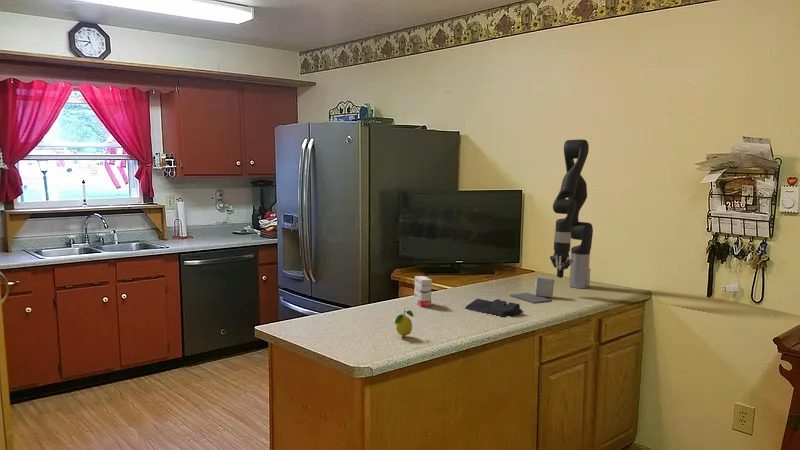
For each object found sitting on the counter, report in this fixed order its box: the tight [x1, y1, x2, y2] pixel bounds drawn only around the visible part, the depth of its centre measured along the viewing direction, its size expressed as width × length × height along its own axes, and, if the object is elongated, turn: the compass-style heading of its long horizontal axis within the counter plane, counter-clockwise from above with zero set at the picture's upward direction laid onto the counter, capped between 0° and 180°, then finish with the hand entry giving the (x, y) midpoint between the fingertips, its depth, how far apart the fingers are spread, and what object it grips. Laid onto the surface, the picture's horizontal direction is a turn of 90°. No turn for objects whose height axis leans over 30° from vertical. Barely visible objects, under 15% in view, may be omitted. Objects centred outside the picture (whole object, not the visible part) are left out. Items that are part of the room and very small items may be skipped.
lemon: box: [394, 309, 414, 338], centre depth 201 cm, size 7×6×10 cm
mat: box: [509, 292, 553, 304], centre depth 265 cm, size 11×16×1 cm
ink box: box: [413, 275, 433, 308], centre depth 248 cm, size 8×5×12 cm, turn 20°
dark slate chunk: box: [464, 298, 524, 318], centre depth 242 cm, size 15×22×5 cm
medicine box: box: [533, 276, 555, 298], centre depth 269 cm, size 8×4×9 cm, turn 85°
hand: (559, 277), depth 274 cm, fingers closed
